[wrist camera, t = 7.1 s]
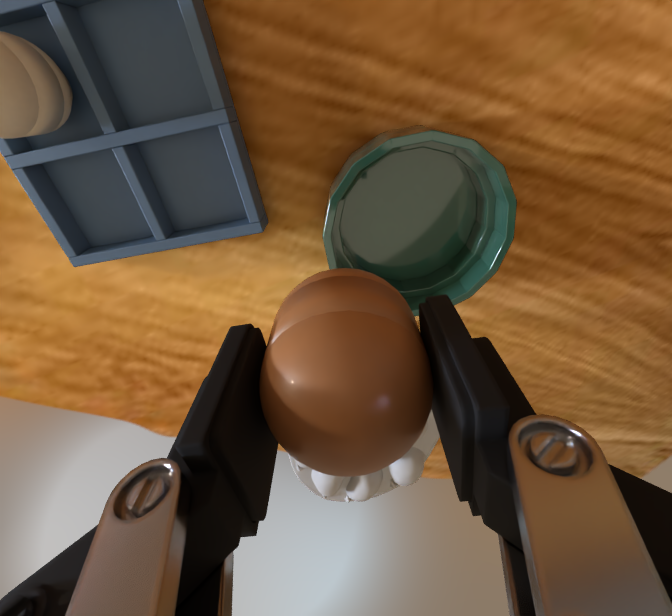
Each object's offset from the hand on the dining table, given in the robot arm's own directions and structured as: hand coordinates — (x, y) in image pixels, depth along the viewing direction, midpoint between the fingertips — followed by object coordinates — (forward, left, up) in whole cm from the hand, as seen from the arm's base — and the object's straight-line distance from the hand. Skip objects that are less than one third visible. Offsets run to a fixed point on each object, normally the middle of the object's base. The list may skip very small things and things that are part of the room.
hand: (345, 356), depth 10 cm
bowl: (+2, +4, -16) cm, 16 cm away
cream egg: (-10, -15, -15) cm, 23 cm away
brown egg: (0, 0, -3) cm, 3 cm away
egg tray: (-6, -12, -16) cm, 21 cm away
